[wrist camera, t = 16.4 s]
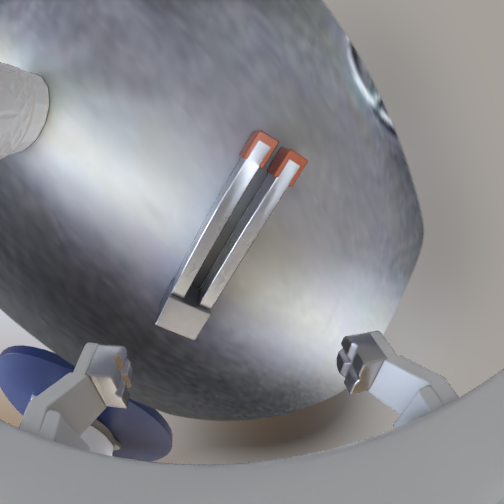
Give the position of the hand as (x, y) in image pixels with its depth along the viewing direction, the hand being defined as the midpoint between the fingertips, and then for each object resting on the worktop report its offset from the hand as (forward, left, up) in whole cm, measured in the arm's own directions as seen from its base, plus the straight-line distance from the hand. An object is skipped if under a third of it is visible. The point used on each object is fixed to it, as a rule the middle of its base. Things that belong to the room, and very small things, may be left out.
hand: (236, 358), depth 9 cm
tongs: (0, 0, -12) cm, 12 cm away
